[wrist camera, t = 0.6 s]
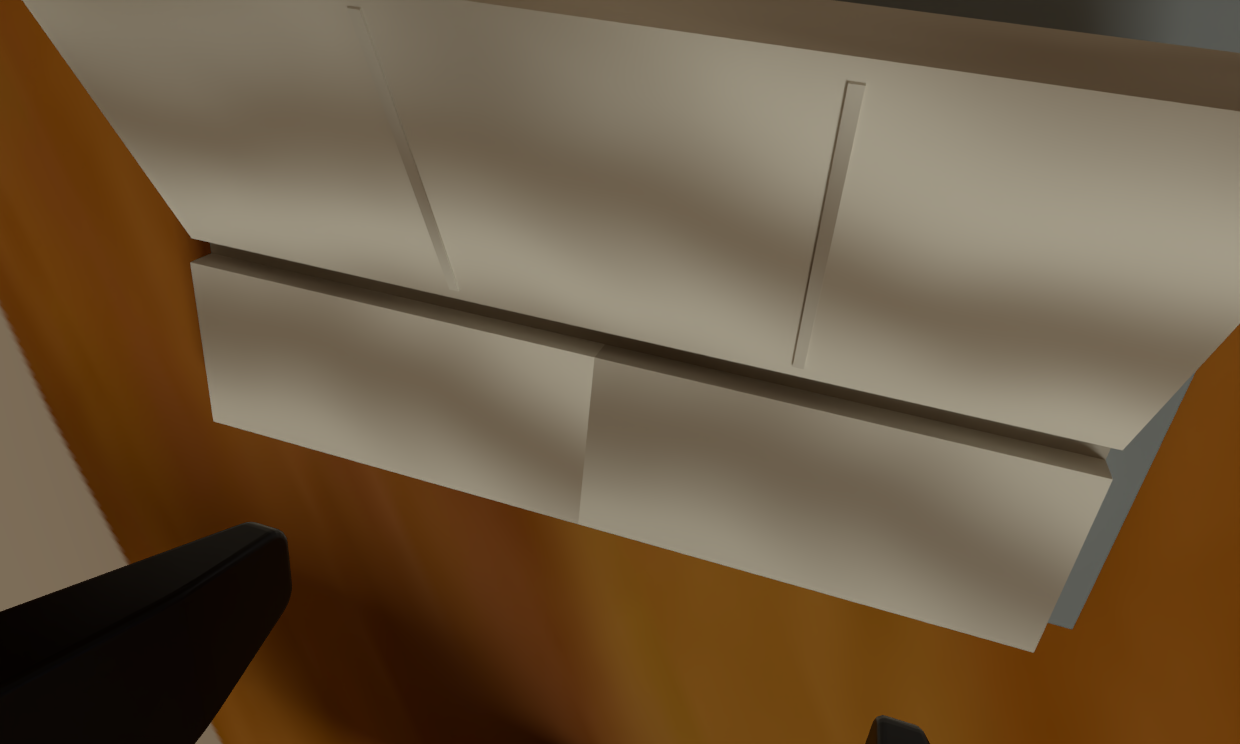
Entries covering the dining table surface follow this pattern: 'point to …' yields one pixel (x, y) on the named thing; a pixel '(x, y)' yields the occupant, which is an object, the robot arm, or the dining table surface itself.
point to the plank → (720, 179)
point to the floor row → (657, 443)
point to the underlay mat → (1135, 9)
